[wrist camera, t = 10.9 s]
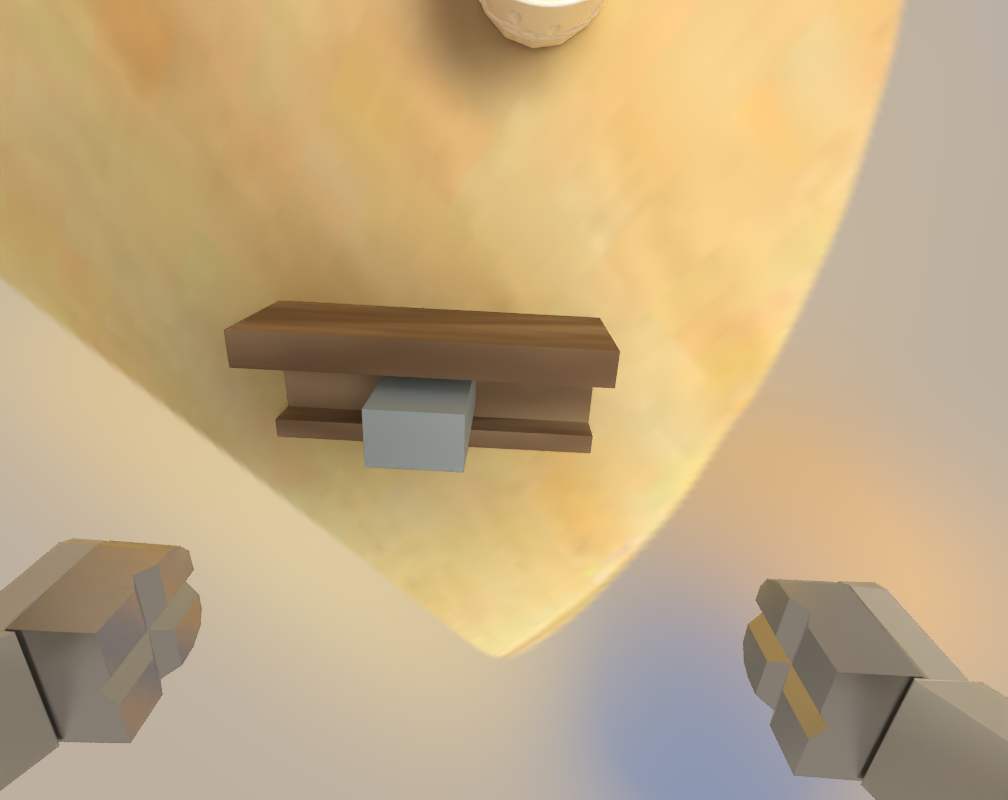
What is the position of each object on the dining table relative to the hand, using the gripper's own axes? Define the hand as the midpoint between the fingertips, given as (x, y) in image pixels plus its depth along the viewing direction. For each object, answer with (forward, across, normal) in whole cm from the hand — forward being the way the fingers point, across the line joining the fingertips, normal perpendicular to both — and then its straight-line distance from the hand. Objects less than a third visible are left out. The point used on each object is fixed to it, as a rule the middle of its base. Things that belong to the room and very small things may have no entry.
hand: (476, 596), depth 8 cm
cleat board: (+27, +4, +7) cm, 28 cm away
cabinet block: (+27, +4, +7) cm, 28 cm away
